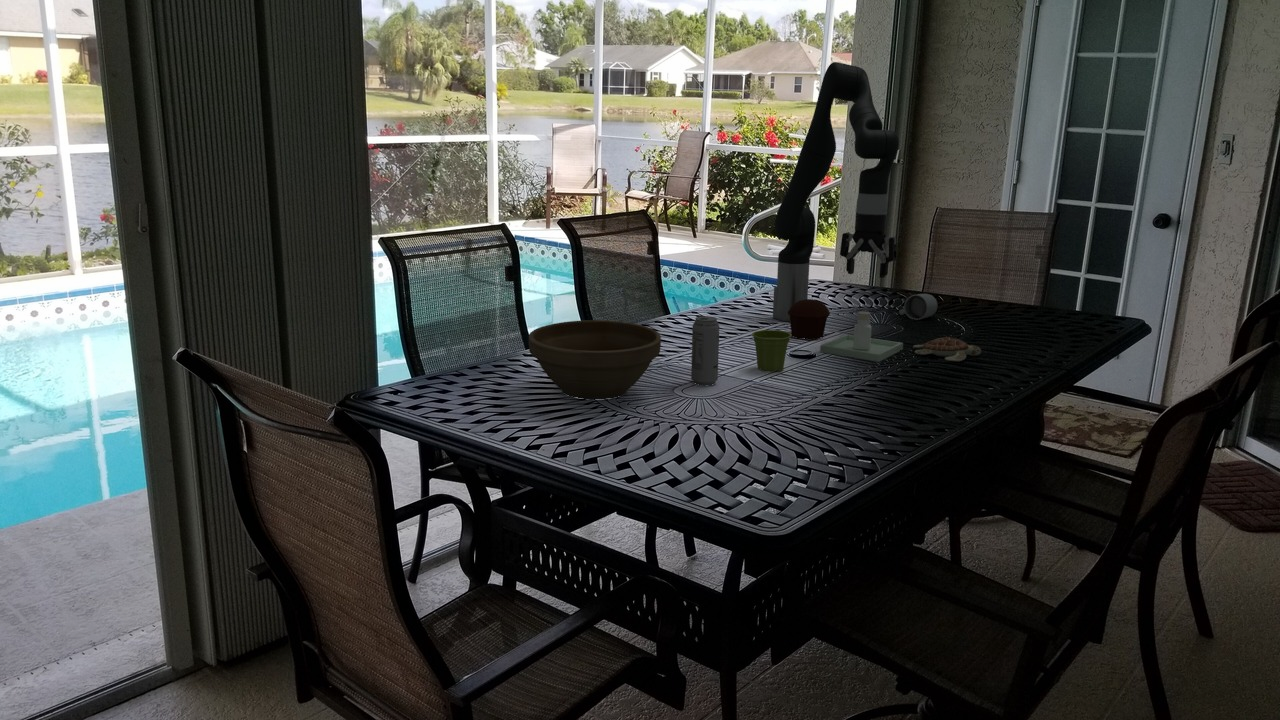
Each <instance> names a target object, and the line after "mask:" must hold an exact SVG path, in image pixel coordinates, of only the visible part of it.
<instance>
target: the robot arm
mask: <svg viewBox="0 0 1280 720" xmlns="http://www.w3.org/2000/svg"><path fill="white" fill-rule="evenodd" d="M817 97H818V98H817V100H816V104H815V108H814V112H813V116H812V119H811V122H810V125H809V128H808V130H807V133H806V135H805V138H804V141H803V144H802V147H801V150H800V152H799V156H798V158H797V163H796V164H795V168H794V171H793V174H792V177H791V180H790V182H789V185H788V187H787V190H786V192H785V195H784V197H783V199H782V202H781V204H780V206H779V207H778V210H777V213H776V214H775V218H774V224H773V227H774V231H775V234H776V236H777V237H778V238H779V239H781V240H785V241H788V242H787V244H786V246H785V247H784V248H783V249H782V250H780V251H779V253H778V256H777V275H776V278H777V279H776V286H773V302H772V306H773V307H772V319H775V320H778V321H782V322H790V315H789V314H788V311H789V310H790V308H791V307H792V306H793V304H795V303H796V302H798V301H800V300H805V299H809V298H808V297H809V295H808V294H809V280H810V279H809V278H810V277H809V276H810V259H811V256H812V254H813V251H814V244H815V235H816V218H815V214H814V212H813V211H812V210H811V209H810V208H809V207H805V206H806V204H807V201H808V199H809V197H810V196H811V194H812V193H813V192H814V190H816V188H817V187H818V186H819V185H820V183H821V182H822V181H823V180H824V179H825V177H826V175H827V174H828V173H829V170H830V168H831V166H832V163H833V160H834V157H835V154H836V151H837V143H836V137H835V133H834V128H833V125H832V119H831V116H832V115H831V111H832V106H833V103H834V99H836V100H841V101H844V102H852V103H853V105H851V107H850V109H849V113H848V114H849V115H848V118H849V119H848V120H849V122H850V126H851V128H852V130H853V132H854V140H855V141H854V151H855V152H854V153H855V155H856V156H858V157H859V158H861V159H864V160H879V162H878V163H877V165H875V166H874V167H871V168H870V167H869V168H866V169H863V170H862V171H860V174H859V181H858V194H857V199H856V200H857V201H856V207H855V221H854V222H855V223H854V233H851V232H843V233H842V235H841V236H842V237H841V242H840V251H839V255H840V256H841V257H843V258H846V267H845V268H846V269H845V270H846V272H847V275H853V274H854V273H855V262H856V259H855V257H856V256H857V254H859V253H861V252H862V253H864V252H867V253H869V254H873V253H875V254H876V256H877V257H878V258H879V260H880V262H881V263H880V265H879V276H878V277H879V279H884V278H886V276H888V274H889V273H888V272H889V263H891V262H894V261H897V260H898V259H897V258H898V238H897V236H892V237H889V236H887V237H886V234H885V233H886V227H887V225H886V223H887V216H888V188H889V186H888V185H889V178H890V174H891V170H892V167H893V164H894V162H895V158H896V156H897V153H898V150H899V145H900V139H899V136H898V134H897V132H895V130H891V129H884V128H883V127H884V126H883V122H882V120H881V118H880V115H879V114H878V112H877V110H876V108H875V104H874V101H873V96H872V90H871V84H870V81H869V76H868V73H867V71H866V70H865V69H864V68H862V67H859V66H856V65H851V64H847V63H843V62H839V61H838V62H837V61H833V62H831V63H830V64H829V65H828V66H827V69H826V71H825V73H824V75H823V79H822V81H821V85H820V90H819V93H818V96H817ZM852 241H854V246H853V247H852V248H851V249H850V243H851V242H852ZM885 243H886V245H887V246H888V253H887V251H886V249H885V248H884V244H885Z"/></svg>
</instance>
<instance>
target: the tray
mask: <svg viewBox="0 0 1280 720" xmlns="http://www.w3.org/2000/svg"><path fill="white" fill-rule="evenodd" d="M853 341H854V334H853V335H852V334H848V333H847V334H844V335H842V336H839V337H837V338H834V339H832V340H830V341H827V342H824V343H823V344H820V346H819V353H823V354H830V355H835V354H836V356H841V355H842V356H841V357H847V356H849V357H848V358H853V357H854V358H853V359H860V360H866V361H871V362H878V363H879V362H881V361H883V360H886V359H887V358H889V357H891V356H893V355H895V354H897V353H900V352H901V351H903V349H904V342H900V341H893V340H887V339H878V338H872V337H871V343H870V349H869V350H856V349H855V348H854V345H853ZM900 350H901V351H900Z"/></svg>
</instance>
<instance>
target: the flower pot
mask: <svg viewBox="0 0 1280 720" xmlns="http://www.w3.org/2000/svg"><path fill="white" fill-rule="evenodd" d="M661 344H662V337H661V334H660V333H659V331H657V330H655V329H653V328H650V326H649V327H648V326H645V325H643V324H642V325H641V324H637V323H633V322H626V321H617V320H602V319H601V320H600V319H592V320H591V319H587V320H584V319H582V320H570V321H563V322H556V323H552V324H546V325H544V326H541V327H537V328H535V329H533V330H532V331H531V332H530V333H529V334H528V349H529V353H530V355H531V356H533V358H535V359H536V361H537V362H538V363H539V366H540V367H541V369H542V370H543V372H544V373H545V374H546V375H547V377H548V378H549V379H550V380H551V381H552V383H554V385H556V386H557V388H559V389H560V390H561V392H562V393H563V394H564V393H565V394H567V395H569V396H573V397H578V398H584V399H585V398H586V399H606V398H614V397H618V396H621V397H623V396H624V395H626V394H627V393H628V391H629V390H630V389H631V388H632V387H633V386H635V384H636V383H637V382H638V381H639V380H640V379H641V378H642V376H644V374H645V372H646V371H647V370H648V368H649V366H651V363H652V362H653V360H654V359H656V358H657V357H658V356H659V355H660V353H661V346H662V345H661ZM565 394H564V395H565ZM567 395H566V396H567ZM622 395H623V396H622ZM569 396H568V397H569ZM618 398H619V397H618Z"/></svg>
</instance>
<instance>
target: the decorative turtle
mask: <svg viewBox="0 0 1280 720" xmlns="http://www.w3.org/2000/svg"><path fill="white" fill-rule="evenodd" d="M912 348H914V349H916V350H914V353H915V354H917V355H923V356H924V355H930V354H931V355H934V356H937V357H942V358H944V360H945V361H946V362H947V361H948V362H962V361H964V360H965V359H967V356H972V357H973V356H979V355H980V354H982V349H981V348H980V347H979V346H978V345H973V344H972V345H970V344H968V343H967V342H965V341H963V340H961V339H959V338H954V337H953V336H952V337H950V336H945V337H939V338H935V339H932V340H930V341H927V342H925V343H923V344H914V345H913V346H912Z"/></svg>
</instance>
